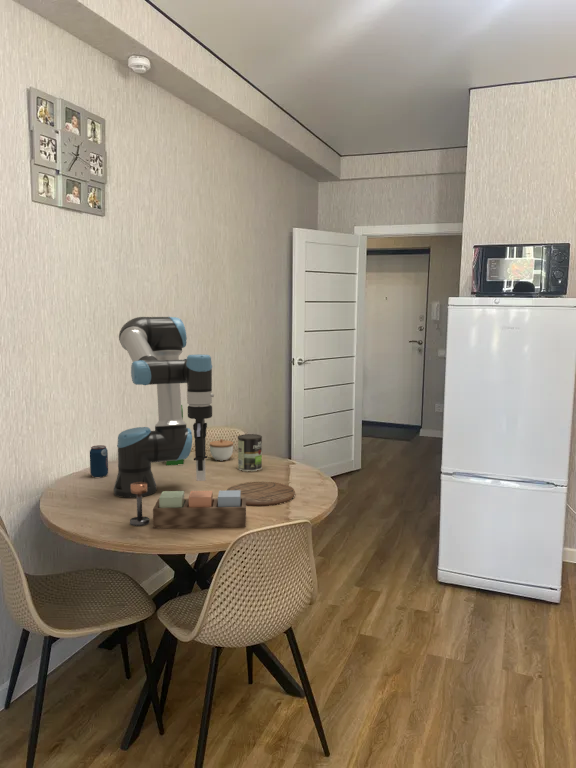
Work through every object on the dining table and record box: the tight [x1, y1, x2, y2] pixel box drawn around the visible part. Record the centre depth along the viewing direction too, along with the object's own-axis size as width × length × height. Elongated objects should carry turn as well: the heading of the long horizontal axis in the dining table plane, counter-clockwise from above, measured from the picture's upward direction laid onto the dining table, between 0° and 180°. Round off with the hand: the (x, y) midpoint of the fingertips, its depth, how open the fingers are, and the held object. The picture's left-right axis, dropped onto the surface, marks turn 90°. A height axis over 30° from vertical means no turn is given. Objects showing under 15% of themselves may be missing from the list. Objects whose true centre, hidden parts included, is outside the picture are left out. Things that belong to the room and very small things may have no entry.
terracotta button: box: [188, 490, 214, 507], centre depth 179 cm, size 7×7×4 cm
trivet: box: [226, 481, 296, 507], centre depth 208 cm, size 25×25×2 cm
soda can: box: [89, 445, 109, 478], centre depth 232 cm, size 7×7×12 cm
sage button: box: [158, 490, 186, 508], centre depth 179 cm, size 7×7×4 cm
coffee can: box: [237, 433, 263, 472], centre depth 245 cm, size 10×10×14 cm
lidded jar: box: [209, 438, 234, 462], centre depth 261 cm, size 11×11×9 cm
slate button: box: [217, 489, 241, 507], centre depth 180 cm, size 7×7×4 cm
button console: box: [152, 497, 247, 529], centre depth 180 cm, size 28×10×6 cm, turn 93°
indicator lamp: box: [129, 482, 151, 527], centre depth 178 cm, size 6×6×12 cm
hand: (200, 480), depth 178 cm, fingers closed
